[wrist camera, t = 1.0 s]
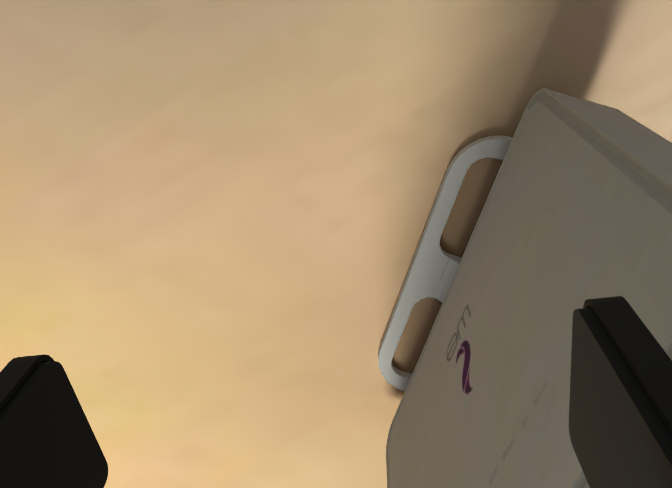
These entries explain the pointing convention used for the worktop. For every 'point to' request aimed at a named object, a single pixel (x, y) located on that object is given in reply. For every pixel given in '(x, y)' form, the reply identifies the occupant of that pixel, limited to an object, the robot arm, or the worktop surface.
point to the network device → (527, 295)
